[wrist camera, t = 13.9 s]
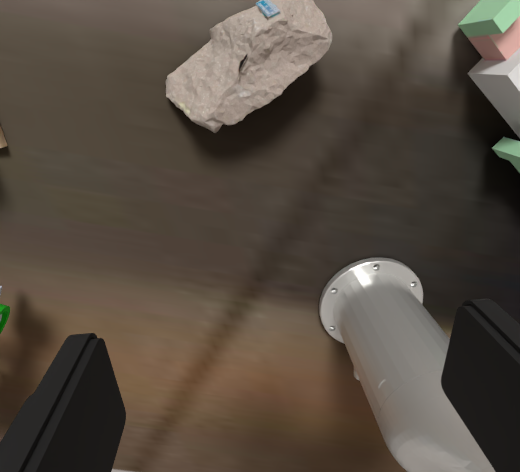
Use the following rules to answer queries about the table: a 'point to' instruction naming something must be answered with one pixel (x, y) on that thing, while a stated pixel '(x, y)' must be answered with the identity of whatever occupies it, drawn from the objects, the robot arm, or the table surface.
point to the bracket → (3, 314)
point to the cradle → (2, 139)
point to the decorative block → (498, 64)
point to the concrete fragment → (249, 61)
